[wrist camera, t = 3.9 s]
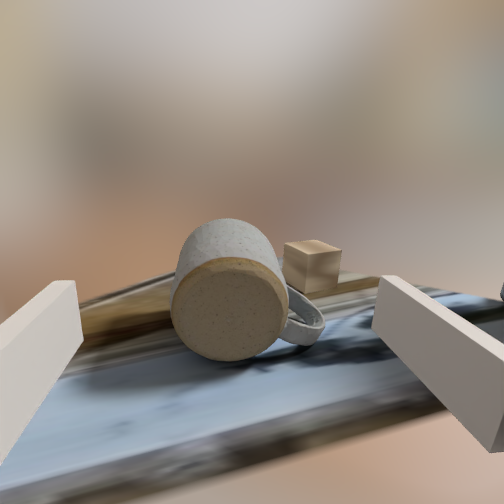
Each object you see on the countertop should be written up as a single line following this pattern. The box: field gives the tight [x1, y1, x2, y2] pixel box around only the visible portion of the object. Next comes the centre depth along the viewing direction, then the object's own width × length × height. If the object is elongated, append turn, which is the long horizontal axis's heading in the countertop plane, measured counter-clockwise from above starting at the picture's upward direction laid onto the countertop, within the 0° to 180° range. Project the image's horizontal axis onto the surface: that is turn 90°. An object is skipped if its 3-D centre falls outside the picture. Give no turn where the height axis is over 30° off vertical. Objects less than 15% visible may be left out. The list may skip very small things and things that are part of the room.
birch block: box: [282, 240, 342, 294], centre depth 31 cm, size 4×4×4 cm
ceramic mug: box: [170, 219, 325, 361], centre depth 21 cm, size 11×8×8 cm
